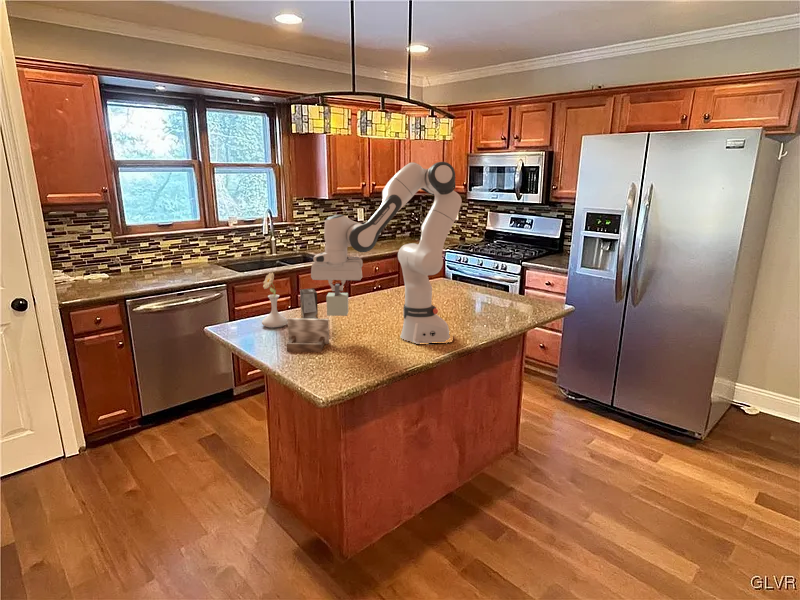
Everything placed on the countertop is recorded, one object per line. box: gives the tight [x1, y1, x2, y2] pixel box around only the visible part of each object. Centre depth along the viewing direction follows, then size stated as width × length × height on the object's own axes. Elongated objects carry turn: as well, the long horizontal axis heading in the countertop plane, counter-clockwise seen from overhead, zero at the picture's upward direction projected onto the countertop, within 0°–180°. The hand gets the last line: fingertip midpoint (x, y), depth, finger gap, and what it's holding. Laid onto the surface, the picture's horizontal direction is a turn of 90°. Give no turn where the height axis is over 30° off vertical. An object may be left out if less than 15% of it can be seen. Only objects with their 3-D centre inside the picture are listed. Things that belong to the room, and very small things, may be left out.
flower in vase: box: [261, 271, 288, 328], centre depth 208 cm, size 13×11×25 cm
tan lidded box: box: [286, 317, 330, 353], centre depth 185 cm, size 16×11×10 cm
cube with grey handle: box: [325, 283, 349, 317], centre depth 191 cm, size 8×6×12 cm
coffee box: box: [299, 288, 319, 319], centre depth 211 cm, size 9×6×16 cm
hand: (337, 290), depth 190 cm, fingers closed on cube with grey handle
